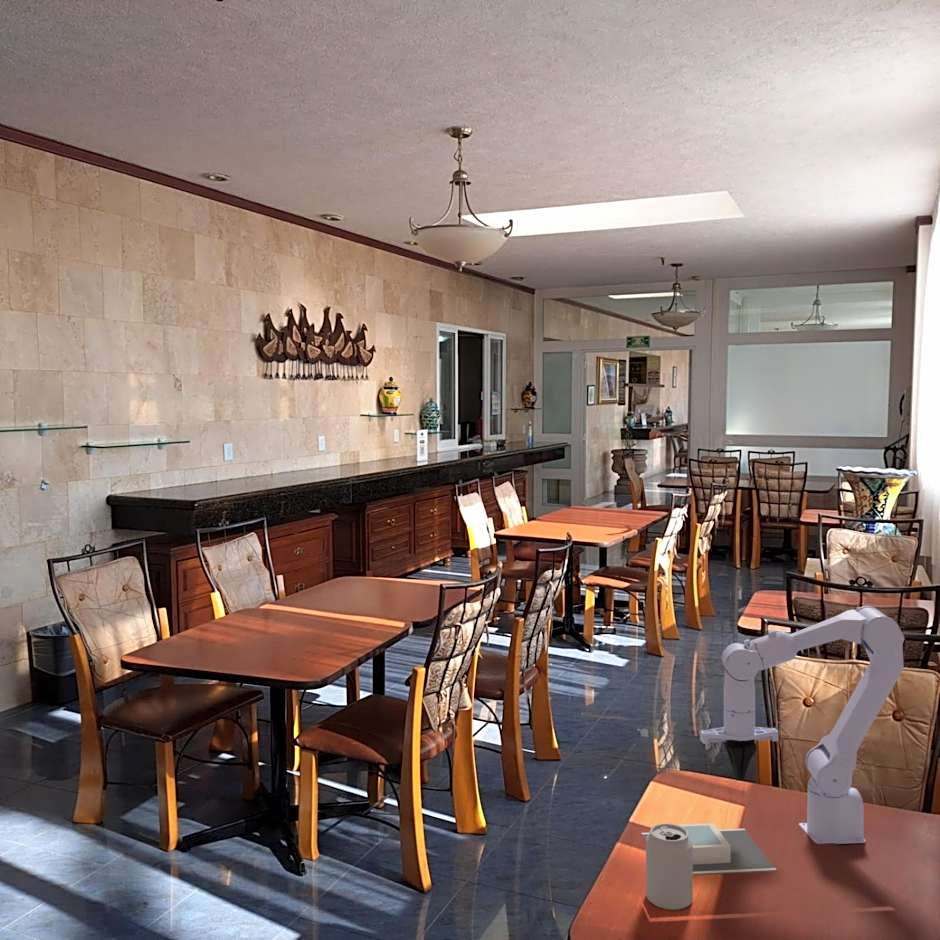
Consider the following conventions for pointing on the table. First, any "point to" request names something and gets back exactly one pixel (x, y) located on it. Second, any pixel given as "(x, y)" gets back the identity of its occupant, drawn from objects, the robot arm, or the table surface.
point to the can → (669, 867)
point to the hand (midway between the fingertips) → (738, 778)
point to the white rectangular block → (708, 844)
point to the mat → (736, 856)
